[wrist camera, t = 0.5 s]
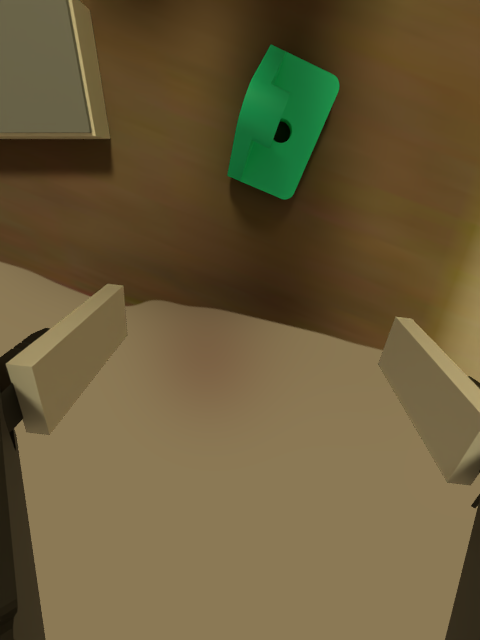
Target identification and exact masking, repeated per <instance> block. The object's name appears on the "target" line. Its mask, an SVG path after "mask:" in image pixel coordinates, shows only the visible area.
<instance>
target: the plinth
mask: <svg viewBox="0 0 480 640" xmlns="http://www.w3.org/2000/svg"><path fill="white" fill-rule="evenodd" d="M0 139H110V133H109V127H108V121H107V114H106V108H105V102H104V95H103V89H102V83H101V76H100V70H99V64H98V58H97V51H96V45H95V39H94V32H93V26H92V20H91V13H90V10H89V9H88V8H87V7H86V6H85V5H84V4H83V3H82V2H80V1H79V0H0Z"/></svg>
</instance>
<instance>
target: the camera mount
mask: <svg viewBox="0 0 480 640" xmlns="http://www.w3.org/2000/svg"><path fill="white" fill-rule="evenodd" d="M338 91H339V81H338V78H337V77H336V76H335V75H333V74H331V73H329V72H327V71H325V70H323V69H321V68H319V67H317V66H315V65H313V64H311V63H308V62H306V61H304V60H302V59H300V58H298V57H296V56H294V55H292V54H290V53H288V52H286V51H284V50H282V49H280V48H278V47H276V46H274V45H272V44H271V45H270V47H269V49H268V50H267V52H266V54H265V56H264V58H263V59H262V61H261V63H260V65H259V67H258V69H257V70H256V72H255V74H254V76H253V78H252V80H251V82H250V84H249V87H248V89H247V92H246V95H245V98H244V101H243V104H242V108H241V111H240V114H239V118H238V122H237V127H236V132H235V137H234V142H233V148H232V153H231V158H230V164H229V169H228V174H227V176H229V177H231V178H234V179H236V180H238V181H241V182H243V183H245V184H248V185H250V186H252V187H255V188H257V189H260V190H262V191H264V192H267V193H269V194H271V195H274V196H276V197H278V198H281V199H284V200H285V199H289V198H291V197H292V196H293V194H294V192H295V190H296V188H297V185H298V183H299V181H300V179H301V176H302V174H303V172H304V169H305V167H306V165H307V162H308V160H309V158H310V156H311V153H312V151H313V149H314V146H315V144H316V142H317V139H318V137H319V135H320V133H321V130H322V128H323V126H324V123H325V121H326V119H327V116H328V114H329V112H330V110H331V107H332V105H333V103H334V100H335V98H336V96H337V94H338ZM279 122H285V123H286V124H287V125H288V126H289V129H290V136H289V139H288V140H287V141H286V142H284V143H278V142H276V141H274V139H273V138H274V135H275V133H276V130H277V127H278V125H279Z"/></svg>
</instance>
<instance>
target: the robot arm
mask: <svg viewBox="0 0 480 640" xmlns="http://www.w3.org/2000/svg"><path fill="white" fill-rule="evenodd" d="M126 336H127V325H126V314H125V300H124V288H123V286H121V285H113V284H107V285H106V286H104V287H103V288H102V289H100V290H99V291H98V292H97V293H95V294H94V295H93V296H92V297H90V298H89V299H88V300H86V301H85V302H84V303H83V304H81V305H80V306H79V307H78V308H76V309H75V310H74V311H73V312H71V313H70V314H69V315H67V316H66V317H65V318H63V319H62V320H61V321H60V322H58V323H57V324H56V325H55V326H53V327H52V328H51V329H49V328H45V329H42V330H40V331H37V332H35V333H33V334H31V335H30V336H28V337H27V338H26V339H24V340H23V341H22V343H19V344H18V345H16V346H15V347H14V349H11V350H10V351H8V352H7V353H5V354H4V355H3V356H2V357H0V640H45V633H44V626H43V619H42V612H41V605H40V598H39V592H38V584H37V577H36V571H35V563H34V556H33V549H32V542H31V535H30V528H29V521H28V514H27V508H26V500H25V493H24V486H23V479H22V472H21V466H20V459H19V451H18V444H17V437H16V434H15V430H14V427H16V426H17V424H18V423H19V422H20V421H21V420H22V419H23V422H24V425H25V429H26V432H29V433H37V434H46V435H50V433H51V432H52V431H53V430H54V429H55V427H56V426H57V425H58V423H59V422H60V421H61V420H62V418H63V417H64V416H65V414H66V413H67V412H68V411H69V409H70V408H71V407H72V405H73V404H74V403H75V402H76V400H77V399H78V398H79V396H80V395H81V394H82V393H83V391H84V390H85V389H86V387H87V386H88V385H89V384H90V382H91V381H92V380H93V378H94V377H95V376H96V375H97V373H98V372H99V371H100V369H101V368H102V367H103V366H104V364H105V363H106V361H108V359H109V358H110V356H111V355H112V354H113V353H114V352H115V350H116V349H117V348H118V346H119V345H120V344H121V343H122V341H123V340H124V339H125V337H126ZM378 365H379V367H380V368H381V370H382V372H383V373H384V375H385V377H386V378H387V380H388V382H389V384H390V385H391V387H392V388H393V391H394V392H395V394H396V396H397V397H398V399H399V401H400V403H401V404H402V406H403V407H404V409H405V411H406V413H407V415H408V416H409V418H410V419H411V421H412V423H413V425H414V427H415V428H416V430H417V432H418V433H419V435H420V437H421V439H422V440H423V442H424V444H425V445H426V447H427V449H428V451H429V452H430V454H431V456H432V457H433V459H434V461H435V463H436V464H437V466H438V468H439V469H440V471H441V473H442V475H443V476H444V478H445V480H446V481H447V483H456V484H464V485H471V484H472V483H473V481H474V480H475V478H476V477H477V475H478V474H479V473H480V383H479V382H478V381H476V380H475V379H473V378H472V377H470V376H467V375H466V374H465V373H464V372H463V371H462V370H461V369H460V368H459V367H458V366H457V365H456V364H455V363H454V362H453V361H452V360H451V359H450V358H449V357H448V356H447V355H446V354H445V353H444V352H443V351H442V349H441V348H440V347H439V346H438V345H437V344H436V343H435V342H434V341H433V340H432V339H431V338H430V337H429V336H428V335H427V334H426V333H425V332H424V331H423V330H422V329H421V328H420V327H419V326H418V325H417V324H416V323H415V322H414V321H413V320H412V319H409V318H401V317H395V320H394V323H393V325H392V328H391V331H390V333H389V336H388V339H387V342H386V344H385V347H384V350H383V352H382V355H381V358H380V360H379V363H378ZM471 506H472V507H473V508H476V507H477V506H478V509H477V513H476V517H475V521H474V525H473V529H472V533H471V537H470V541H469V545H468V549H467V553H466V557H465V561H464V565H463V569H462V573H461V578H460V582H459V586H458V590H457V594H456V598H455V602H454V606H453V610H452V614H451V618H450V622H449V626H448V630H447V634H446V638H445V640H480V494H479V496H478V497H477V499H476V500H475V501H474V503H473V504H472V505H471Z"/></svg>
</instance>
